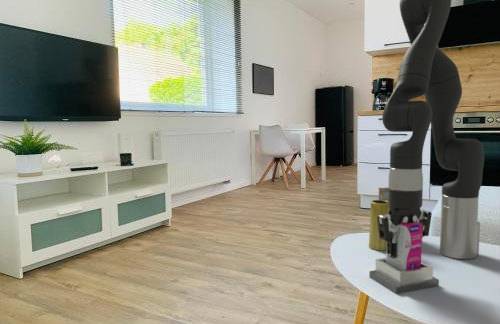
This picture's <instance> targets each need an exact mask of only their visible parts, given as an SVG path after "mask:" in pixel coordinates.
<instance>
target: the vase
mask: <svg viewBox="0 0 500 324" xmlns="http://www.w3.org/2000/svg"><path fill="white" fill-rule="evenodd" d="M388 212H389V204H388V201H385V200H378V199H374V200H370V213H369V214H370V218H369V219H370V220H369V222H370V223H369V234H368V235H369V236H368V237H369V239H368V241H369V242H368V247H369V248H370V249H372V250H374V249H375V250H376V251H387V241H385V240H383V239H380V238H379V230H378V220H377V216H378V215H382V216H383V215H387V214H388ZM375 250H374V251H375Z"/></svg>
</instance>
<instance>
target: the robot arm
mask: <svg viewBox="0 0 500 324" xmlns="http://www.w3.org/2000/svg"><path fill="white" fill-rule="evenodd" d="M451 7H452V0H399V11H400V16H401V19H402V23H403V26H404V28H405V29H404V30H405V31H406V34H407V37H408V40H409V44H410V46H409V47H408V49H407V50H406V52H405V54H404V55H403V57H402V60H401V62H400V66H399V70H398V76H397V81H396V84H395V87H394V89H393V90H392V92H391V95H390V96H389V98H388V100H387V102H386V104H385V107H384V108H383V112H382V119H381V120H382V124H383V127H384V128H385V130H387V131H388V132H392V133H395V132H398V133H401V132H403V133H404V132H405V133H407V132H409V133H410V132H411V133H412V134H411V136H410V137H409V138H408V139H407V140H404V141H398V142H394V143H393V144H391V146H390V149H389V150H390V151H389V172H388V187H387V188H388V204H389V207H390V210H389V212H388V214H387V215H383V216H382V215H378V216H377V220H378V230H379V238H380V239H383V240H385V241H387V250H386V254H388V255H389V257H391V258H396V257H397V243H396V241H397V239H398V235H399V234H400V226H401V225H403V224H406V223H418V222H419V223H422V224H423V231H422V239H423V238H424V237H428V236H429V234H430V229H431V222H432V214H433V213H432V211H428V210H425V209H421V208H422V207H423V196H424V195H423V189H424V176H423V175H424V173H423V151H424V146H425V141H426V138H427V135H428V131H429V129H430V126H431V132H432V138H433V146H434V152H435V157H436V161H437V162H438V164H439V166H440V167H441V169H444V170H447V171H453V172H454V171H455V172H458V175H457V177H456V179H455V180H454V181H450V182H446V183H443V185H442V186H441V202H440V203H441V206H440V208H441V209H440V211H441V212H440V231H439V232H440V233H439V234H440V236H439V253H440V254H441V255H443V256H446V257H448V258H452V259H458V260H473V259H475V258H476V257H477V256H479V254H480V235H481V234H480V233H481V223H480V222H479V220H478V219H479V217H478V216H479V195H480V190H481V187H482V184H483V183H482V182H483V173H484V172H483V171H484V164H485V149H484V146H483V145H484V144H482V142H481V141H479V140H478V139H475V138H459V137H458V138H457V137H456V134H455V130H454V129H455V128H454V125H453V124H454V123H453V121H454V116H455V114H456V111H457V109H458V105H459V104H460V100H461V98H462V94H463V87H462V86H463V85H462V82H461V78H460V74H459V69H458V67H457V65H456V63H454V61H453V60H452V59H451V58H450V57H449V56H448V55H447V54H446V53H444V52H443V51H442V50H441V49H440V48H439V47H438V46H439V42H440V41H441V38H442V35H443V32H444V30H445V26H446V23H447V22H448V18H449V16H450V15H449V14H450V11H451ZM423 96H424V99H425V100H413V99H417V98H420V97H423ZM389 220H390V221H391V222H392V224H394V225H395V226H398V228H397V229H396V230H395V229H392V228H391V225H389V224H390V222H389ZM398 224H399V225H398ZM392 232H394V234H393V236H392Z"/></svg>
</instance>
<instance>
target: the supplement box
mask: <svg viewBox="0 0 500 324" xmlns="http://www.w3.org/2000/svg"><path fill="white" fill-rule="evenodd" d="M389 222H390V224H389V225H391V228H392V229H395V230H396V229H397V228H398V226H395V225H394V224H392V222H391V221H390V220H389ZM398 225H399V224H398ZM423 230H424V228H423V224H422V223H419V221H418V223H406V224H403V225H401V226H400V234H399V235H398V239H397V241H396V243H397V257H396V258H391V257H389V255H388V254H387V253H385V254H386V255H385V256H386V257H385V258H386V263H387V264H389V265H390V266H392V267H394V268H396V269H398V270H400V271H405V270H411V269H417V268H421V262H422V249H423V248H422V247H423V245H422V244H423V238H422V231H423ZM393 234H394V232H392V236H393Z"/></svg>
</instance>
